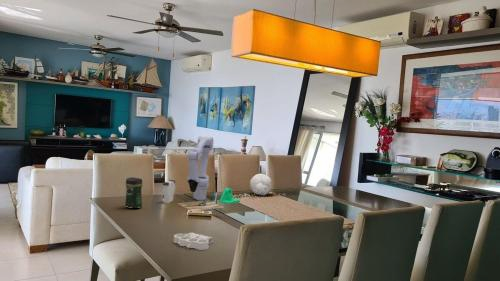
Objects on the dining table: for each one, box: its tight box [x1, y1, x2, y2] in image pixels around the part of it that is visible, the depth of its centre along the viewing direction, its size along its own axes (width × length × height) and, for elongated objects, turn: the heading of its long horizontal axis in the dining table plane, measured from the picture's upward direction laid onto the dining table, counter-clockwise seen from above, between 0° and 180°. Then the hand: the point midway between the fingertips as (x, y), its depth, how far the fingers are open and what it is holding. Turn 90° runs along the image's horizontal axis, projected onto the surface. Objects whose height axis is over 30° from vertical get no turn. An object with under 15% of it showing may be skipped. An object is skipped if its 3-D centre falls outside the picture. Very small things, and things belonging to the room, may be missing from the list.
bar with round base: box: [186, 200, 206, 206], centre depth 241 cm, size 5×12×2 cm, turn 125°
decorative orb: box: [249, 173, 272, 196], centre depth 292 cm, size 20×18×16 cm
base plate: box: [176, 197, 223, 212], centre depth 242 cm, size 21×22×4 cm
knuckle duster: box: [173, 232, 214, 251], centre depth 173 cm, size 3×18×15 cm
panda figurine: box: [162, 179, 176, 204], centre depth 248 cm, size 12×11×15 cm
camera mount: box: [219, 187, 241, 205], centre depth 256 cm, size 12×8×10 cm, turn 139°
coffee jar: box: [124, 177, 143, 208], centre depth 234 cm, size 10×8×19 cm
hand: (192, 191), depth 244 cm, fingers closed
